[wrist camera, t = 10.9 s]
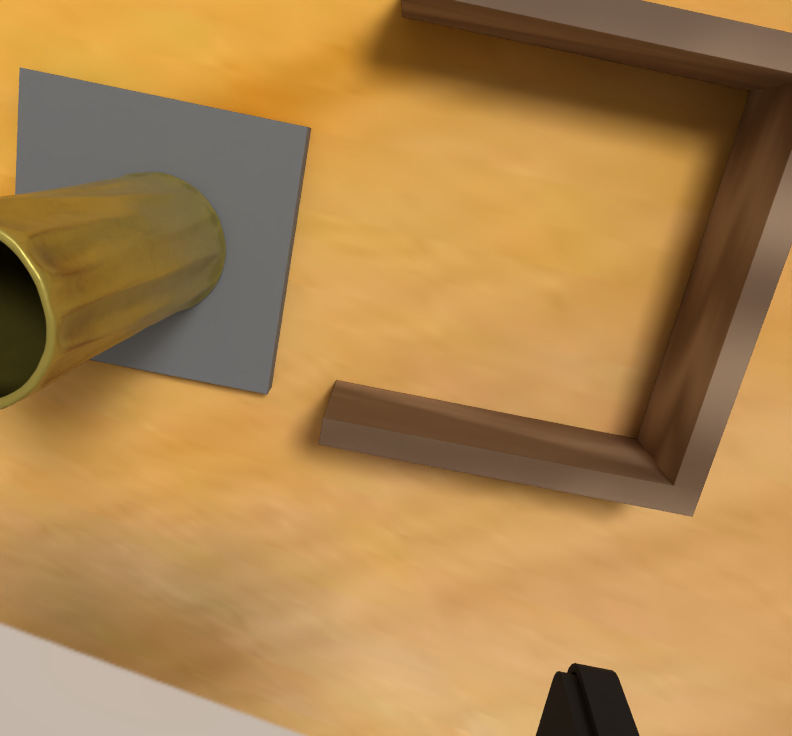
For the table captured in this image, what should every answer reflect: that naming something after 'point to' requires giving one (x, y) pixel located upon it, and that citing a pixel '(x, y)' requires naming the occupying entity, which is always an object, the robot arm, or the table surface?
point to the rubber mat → (214, 178)
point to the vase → (97, 270)
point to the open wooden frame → (703, 299)
